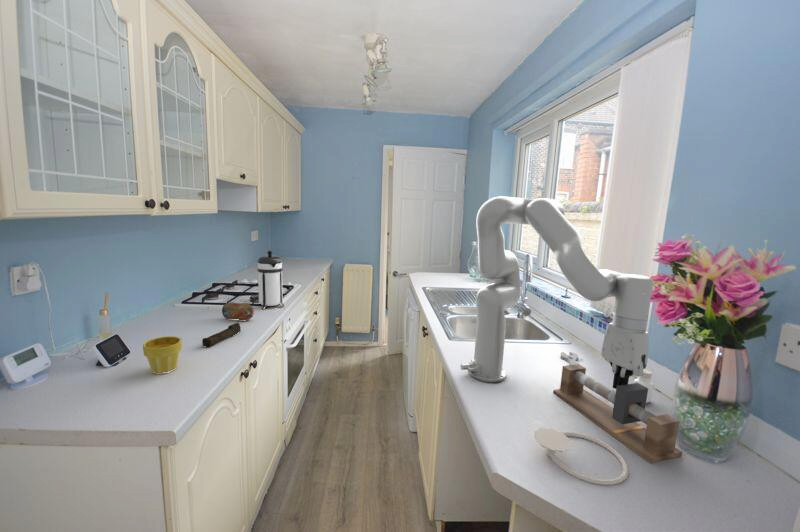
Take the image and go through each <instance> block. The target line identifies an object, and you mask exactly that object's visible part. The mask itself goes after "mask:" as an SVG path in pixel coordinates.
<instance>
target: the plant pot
mask: <svg viewBox="0 0 800 532" xmlns="http://www.w3.org/2000/svg"><path fill="white" fill-rule="evenodd" d="M182 342H183V341H182V338H180V337H179V336H174V335H170V336H169V335H168V336H166V335H165V336H160V337H154V338H151V339H149V340H147V341H145V342H144V343H143V345H142V350H143V356H145V358H147V362H148V364H149V367H150V370H151V372H155V373H163V372H168V371H171V370H173V369H175V368H176V369H177V366H178V361H179V356H180V351H182V348H183V345H182ZM176 369H175V370H176Z"/></svg>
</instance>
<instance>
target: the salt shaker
mask: <svg viewBox="0 0 800 532" xmlns="http://www.w3.org/2000/svg"><path fill="white" fill-rule="evenodd" d="M643 371H644V375H643V376H637V378H635V379H634V380H633V383H639V384H641V385H643V386H644V387H646V388H648V394H647V400H646V404H647V403H648V404H649V403H650V402H652V397H653V396H652V395H653V391H654V383H653V382H652V381H651V379H652V374H653V372H652V371H650V370H648V369H646V368H645V369H643ZM633 383H632V384H633Z"/></svg>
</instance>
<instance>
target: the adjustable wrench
mask: <svg viewBox="0 0 800 532" xmlns="http://www.w3.org/2000/svg"><path fill="white" fill-rule="evenodd" d="M560 359H561V360H563V361H566V362H567V363H568V365H575V364H578V363H577V360H578V359H579V355H578V354H577V353H575V352H572V351H569V353H568V355H567V353H565V352H563V351H561V353H560Z"/></svg>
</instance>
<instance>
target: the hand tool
mask: <svg viewBox="0 0 800 532" xmlns="http://www.w3.org/2000/svg"><path fill="white" fill-rule="evenodd" d="M241 331H242V330H241V324H240V323H239V322H235V323H232V324H230V325H228V327H227V328H226V329H223V330H222V331H219V332H217V333H214V334H213V335H212V334H211V335H210V336H208V337H203V338H202V340H201V341H202V346H203V347H204V346H206V347H205V348H208V347H209V348H211V347H212V346H214V345H215V344H217V343H219V342H221V341H224V340H225V339H228V338H229V337H234V336H233V335H235V334H237V333H238V332H239V333H240V332H241ZM239 333H238V334H239ZM238 334H237V335H238ZM235 336H236V335H235Z"/></svg>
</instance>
